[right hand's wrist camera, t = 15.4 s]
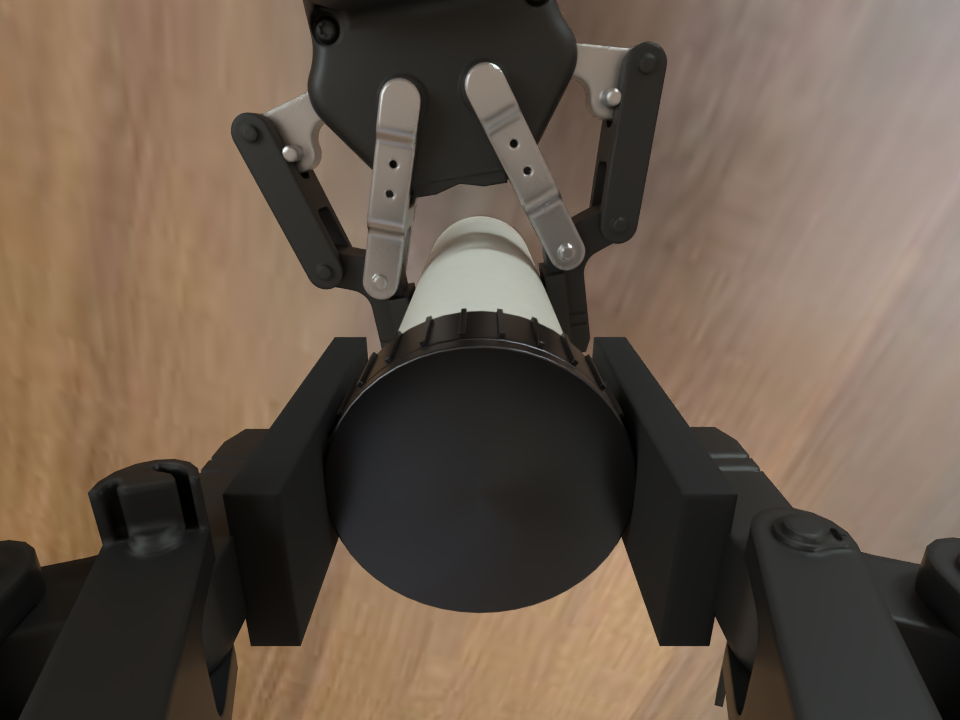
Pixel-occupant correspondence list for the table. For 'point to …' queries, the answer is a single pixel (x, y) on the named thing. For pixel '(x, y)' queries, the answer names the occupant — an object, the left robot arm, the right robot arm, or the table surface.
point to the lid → (480, 464)
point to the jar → (480, 275)
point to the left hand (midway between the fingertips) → (491, 371)
